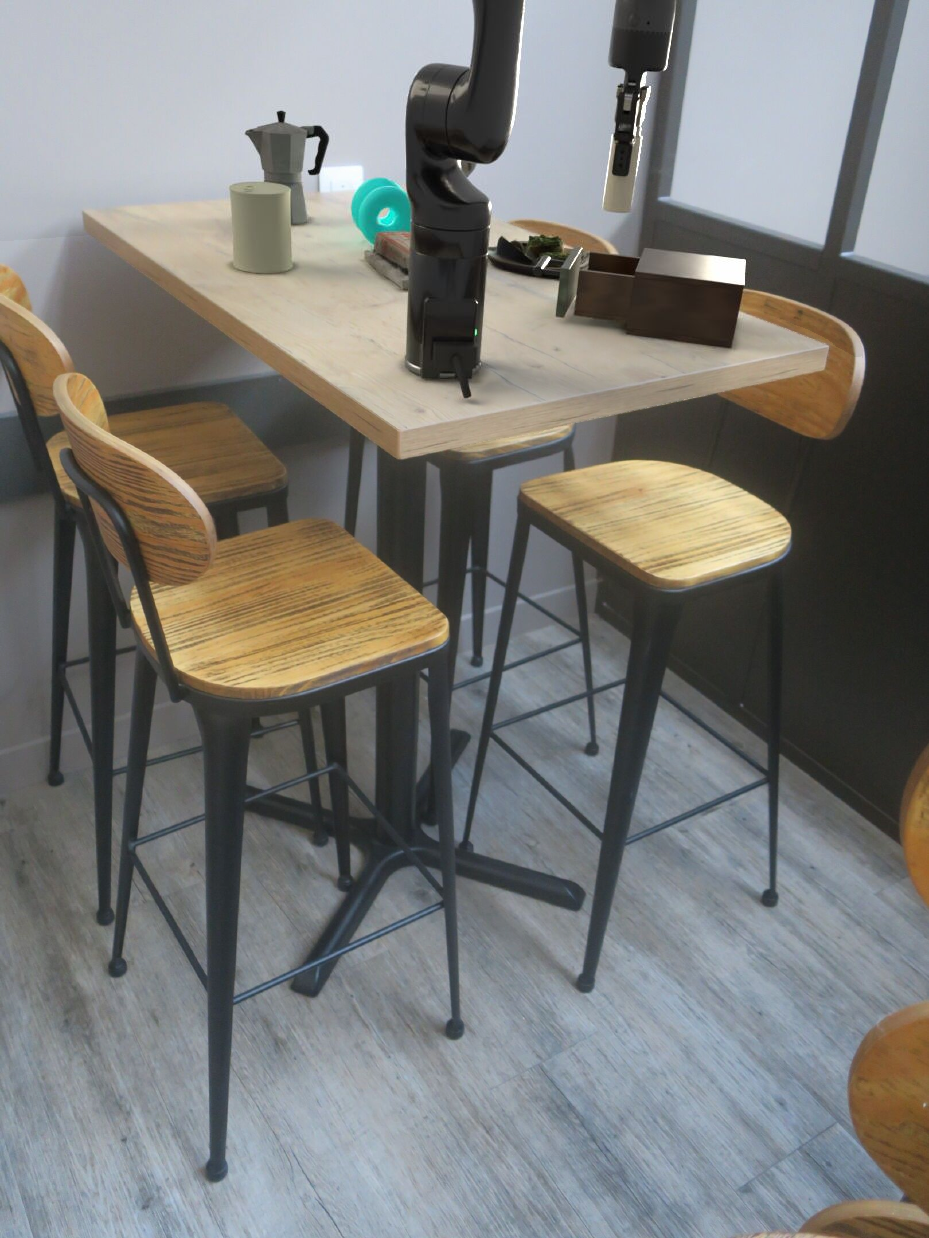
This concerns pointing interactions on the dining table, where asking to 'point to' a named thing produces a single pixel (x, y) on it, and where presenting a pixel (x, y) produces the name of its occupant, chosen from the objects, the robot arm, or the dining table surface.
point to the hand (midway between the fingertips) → (621, 172)
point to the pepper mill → (621, 179)
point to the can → (261, 227)
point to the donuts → (380, 208)
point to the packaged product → (391, 256)
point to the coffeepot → (288, 158)
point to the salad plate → (531, 254)
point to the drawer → (593, 284)
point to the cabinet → (686, 297)
